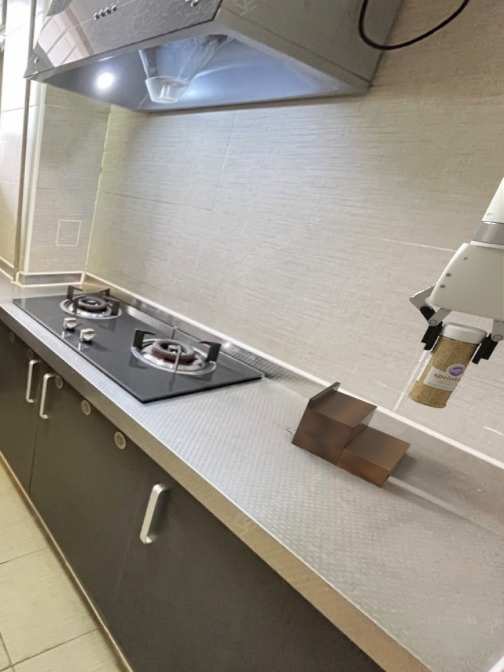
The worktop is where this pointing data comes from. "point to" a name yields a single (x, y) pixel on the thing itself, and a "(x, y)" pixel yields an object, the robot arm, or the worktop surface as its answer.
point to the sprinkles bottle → (446, 364)
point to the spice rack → (348, 436)
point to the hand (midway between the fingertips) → (451, 354)
